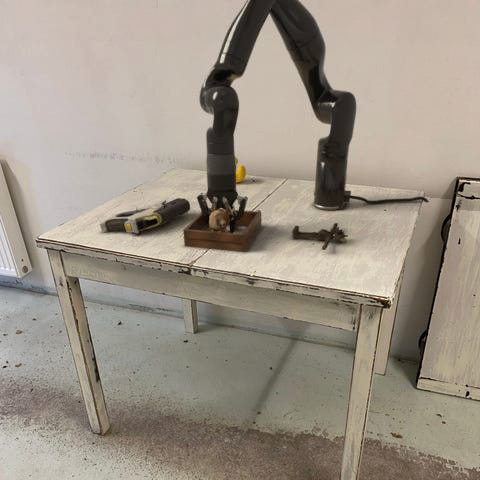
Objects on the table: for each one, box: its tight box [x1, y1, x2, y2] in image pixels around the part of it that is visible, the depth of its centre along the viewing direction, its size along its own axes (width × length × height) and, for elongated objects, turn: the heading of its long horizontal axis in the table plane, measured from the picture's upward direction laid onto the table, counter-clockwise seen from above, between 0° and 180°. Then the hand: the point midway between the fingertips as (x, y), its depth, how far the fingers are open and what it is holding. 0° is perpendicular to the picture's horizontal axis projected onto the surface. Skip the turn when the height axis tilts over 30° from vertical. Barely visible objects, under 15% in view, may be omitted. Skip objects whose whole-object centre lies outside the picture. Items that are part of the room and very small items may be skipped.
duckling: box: [235, 156, 247, 184], centre depth 174 cm, size 11×5×10 cm, turn 59°
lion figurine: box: [208, 209, 239, 233], centre depth 132 cm, size 15×5×9 cm, turn 163°
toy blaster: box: [99, 197, 191, 234], centre depth 142 cm, size 6×25×15 cm
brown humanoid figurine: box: [291, 222, 349, 251], centre depth 129 cm, size 18×4×14 cm
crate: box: [182, 207, 263, 253], centre depth 133 cm, size 17×18×4 cm
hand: (223, 232), depth 133 cm, fingers closed on lion figurine, 4 cm apart
